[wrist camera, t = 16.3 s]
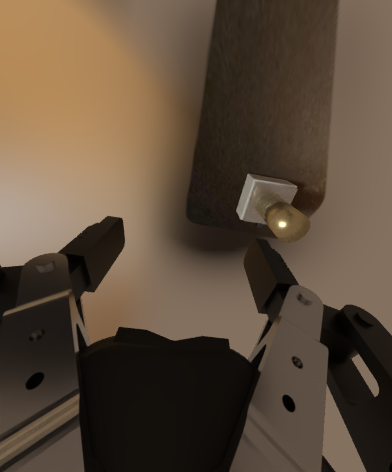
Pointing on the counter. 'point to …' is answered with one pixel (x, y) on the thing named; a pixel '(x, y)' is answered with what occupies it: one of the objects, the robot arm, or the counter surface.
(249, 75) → the counter surface
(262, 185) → the box lid
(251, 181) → the white latched box
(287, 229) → the disc
